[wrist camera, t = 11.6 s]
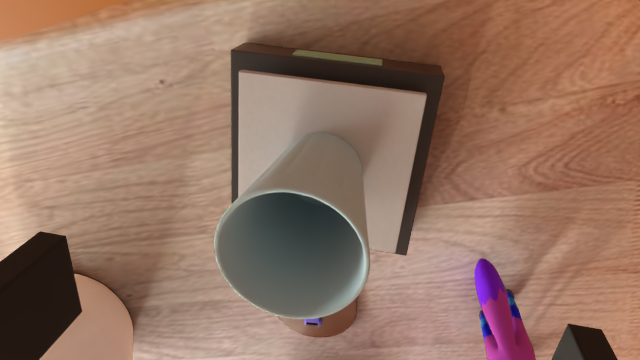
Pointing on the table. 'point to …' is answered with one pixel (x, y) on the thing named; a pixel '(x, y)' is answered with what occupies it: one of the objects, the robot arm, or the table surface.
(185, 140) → the table surface
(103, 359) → the pitcher
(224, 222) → the cup
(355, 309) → the round wooden coaster
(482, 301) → the fox figurine
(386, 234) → the scale
